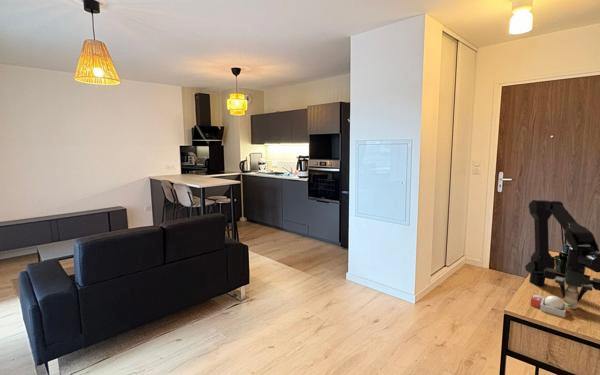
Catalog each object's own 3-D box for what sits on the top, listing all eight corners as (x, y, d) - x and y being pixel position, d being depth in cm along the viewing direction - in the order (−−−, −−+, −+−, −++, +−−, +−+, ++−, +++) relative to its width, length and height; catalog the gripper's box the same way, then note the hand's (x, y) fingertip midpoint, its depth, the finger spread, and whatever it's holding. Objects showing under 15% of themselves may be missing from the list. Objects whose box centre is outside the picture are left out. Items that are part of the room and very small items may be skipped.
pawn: (561, 299, 129) (564, 281, 128) (573, 301, 128) (576, 283, 127) (566, 304, 125) (569, 286, 124) (579, 306, 124) (582, 287, 123)
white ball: (544, 304, 127) (546, 291, 126) (562, 309, 123) (564, 296, 123) (543, 310, 123) (544, 296, 122) (561, 315, 119) (563, 301, 118)
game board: (534, 294, 138) (535, 286, 138) (577, 305, 129) (579, 297, 128) (528, 310, 125) (529, 301, 125) (576, 324, 116) (578, 315, 115)
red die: (531, 302, 129) (532, 294, 128) (540, 305, 127) (541, 297, 126) (530, 305, 127) (531, 297, 126) (539, 308, 125) (540, 300, 124)
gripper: (544, 261, 124) (539, 298, 126) (610, 275, 112) (603, 316, 114) (547, 253, 132) (542, 289, 135) (609, 266, 120) (602, 304, 122)
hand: (570, 299), depth 126 cm, fingers closed on pawn, 4 cm apart
